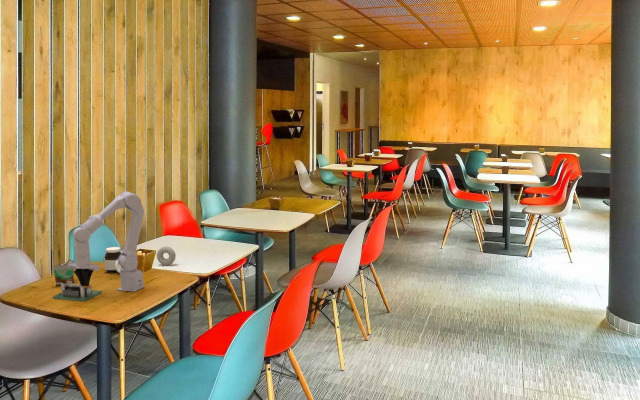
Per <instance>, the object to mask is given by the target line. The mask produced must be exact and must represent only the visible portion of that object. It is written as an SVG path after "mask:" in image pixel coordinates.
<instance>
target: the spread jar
mask: <svg viewBox="0 0 640 400" xmlns="http://www.w3.org/2000/svg"><path fill="white" fill-rule="evenodd" d="M105 252H106V253H105V255H104V263H103V264H104V271H105V272H107V273H110V274H111V273H112V274H114V273H116V274H117V273H118V274H120V268H121V266H120V265H119V263H118V258H119V256H120V255H121V253H122V251H121V247H120V246H111V247H107V248H105Z"/></svg>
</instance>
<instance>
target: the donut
mask: <svg viewBox="0 0 640 400" xmlns="http://www.w3.org/2000/svg"><path fill="white" fill-rule="evenodd" d="M164 254H168V257H167V258H165V257H164ZM156 259H157V261H158V263H159V264H161V265H163V266H169V265H172V264H173V263H174V262H175V260H176V252H175V249H173V248H172V247H170V246H162V247H160V248H159V249H158V250H157V252H156Z"/></svg>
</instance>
